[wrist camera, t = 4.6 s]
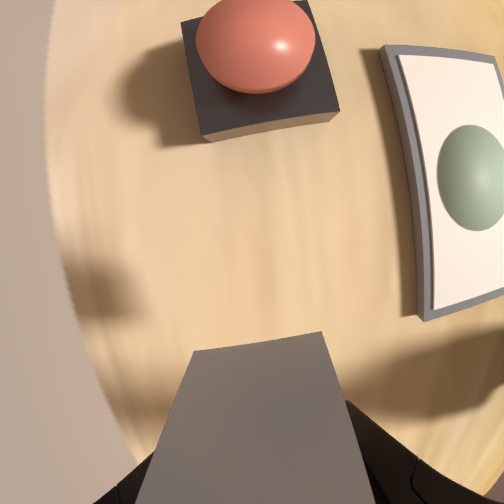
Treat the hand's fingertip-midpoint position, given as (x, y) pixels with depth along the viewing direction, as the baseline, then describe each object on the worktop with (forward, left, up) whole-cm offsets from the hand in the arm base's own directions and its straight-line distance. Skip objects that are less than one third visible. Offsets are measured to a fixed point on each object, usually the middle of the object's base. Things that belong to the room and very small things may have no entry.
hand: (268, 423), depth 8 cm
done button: (-2, -13, -9) cm, 16 cm away
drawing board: (-15, -5, -12) cm, 20 cm away
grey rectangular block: (0, 0, -2) cm, 2 cm away
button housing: (-2, -13, -12) cm, 17 cm away
